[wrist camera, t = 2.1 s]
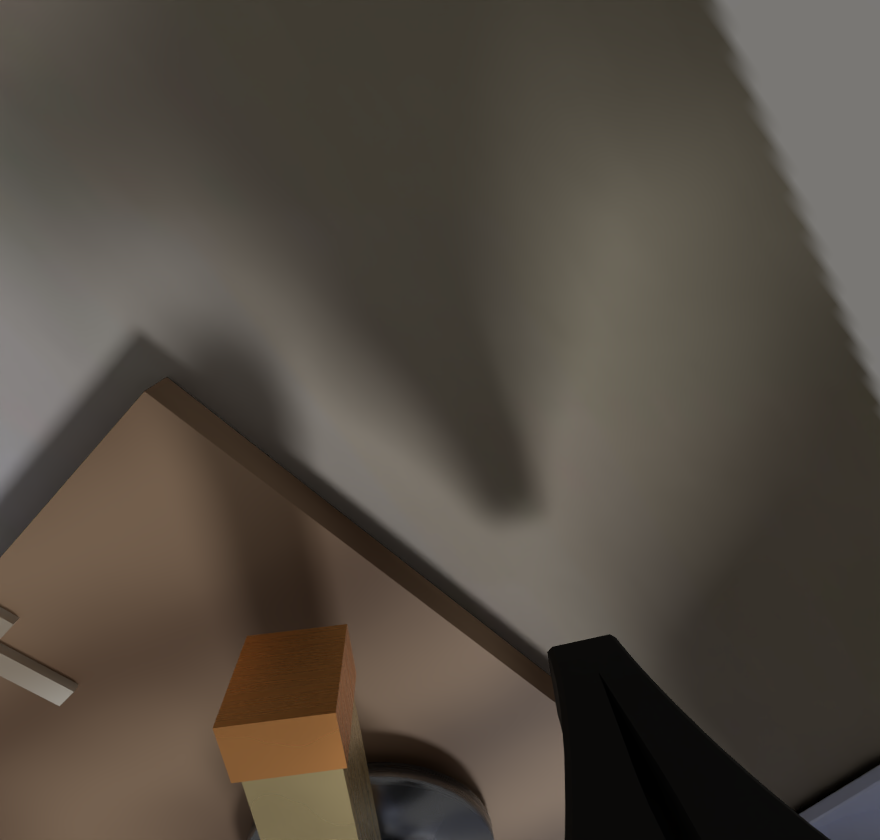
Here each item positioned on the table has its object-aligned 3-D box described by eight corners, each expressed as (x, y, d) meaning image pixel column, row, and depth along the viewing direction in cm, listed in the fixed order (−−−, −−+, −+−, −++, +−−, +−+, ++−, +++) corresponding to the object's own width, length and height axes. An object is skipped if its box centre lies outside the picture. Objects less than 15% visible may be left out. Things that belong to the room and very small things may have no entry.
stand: (721, 809, 17) (744, 850, 16) (414, 1005, 20) (415, 1050, 19) (166, 376, 11) (139, 394, 10) (-170, 762, 14) (-221, 810, 12)
